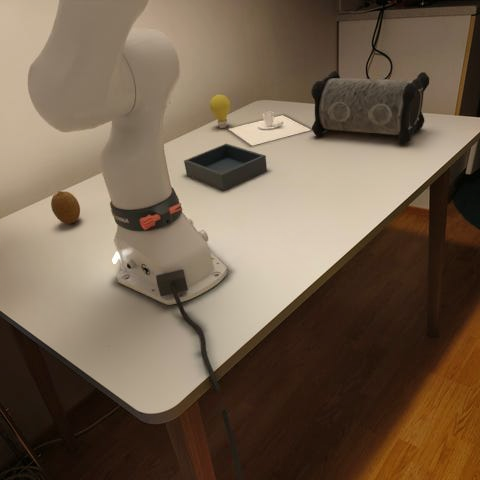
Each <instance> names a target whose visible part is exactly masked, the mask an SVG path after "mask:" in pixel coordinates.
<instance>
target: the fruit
mask: <svg viewBox="0 0 480 480" xmlns="http://www.w3.org/2000/svg"><path fill="white" fill-rule="evenodd" d="M50 207H51V211H52V212H53V214H54V216H55V217H56V218H57V219H58V220H59V221H60V222H61V223H64V224H74V223H75V222H76V221H77V220H79V218H80V215H81V206H80V203H79V201H78V199H77V198H76V197H75V196H74V194H73V193H71V192H69V191H60V190H59V191H57V193H55V194H53V195H52V198H51V200H50Z"/></svg>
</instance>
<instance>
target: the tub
mask: <svg viewBox="0 0 480 480" xmlns="http://www.w3.org/2000/svg"><path fill="white" fill-rule="evenodd" d="M183 164H184V169H185V173H186V176H188V177H189V178H193V179H195V180H197V181H199V182H202V183H205V184H206V185H209V186H212V187H214V188H216V189H219V190H221V191H226V190H229V189H231V188H233V187H235V186H238V185H239V184H242V183H244V182H246V181H248V180H250V179H253V178H255V177H257V176H259V175H261V174H263V173H266V172H267V171H268V166H267V155H265V154H261V153H258V152H255V151H252V150H248V149H246V148H242V147H239V146H235V145H233V144H229V143H224V144H221V145H218V146H216V147H214V148H212V149H209V150H206V151H204V152H201V153H199V154H197V155H194V156H192V157H189V158H187V159H184V160H183Z"/></svg>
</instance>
